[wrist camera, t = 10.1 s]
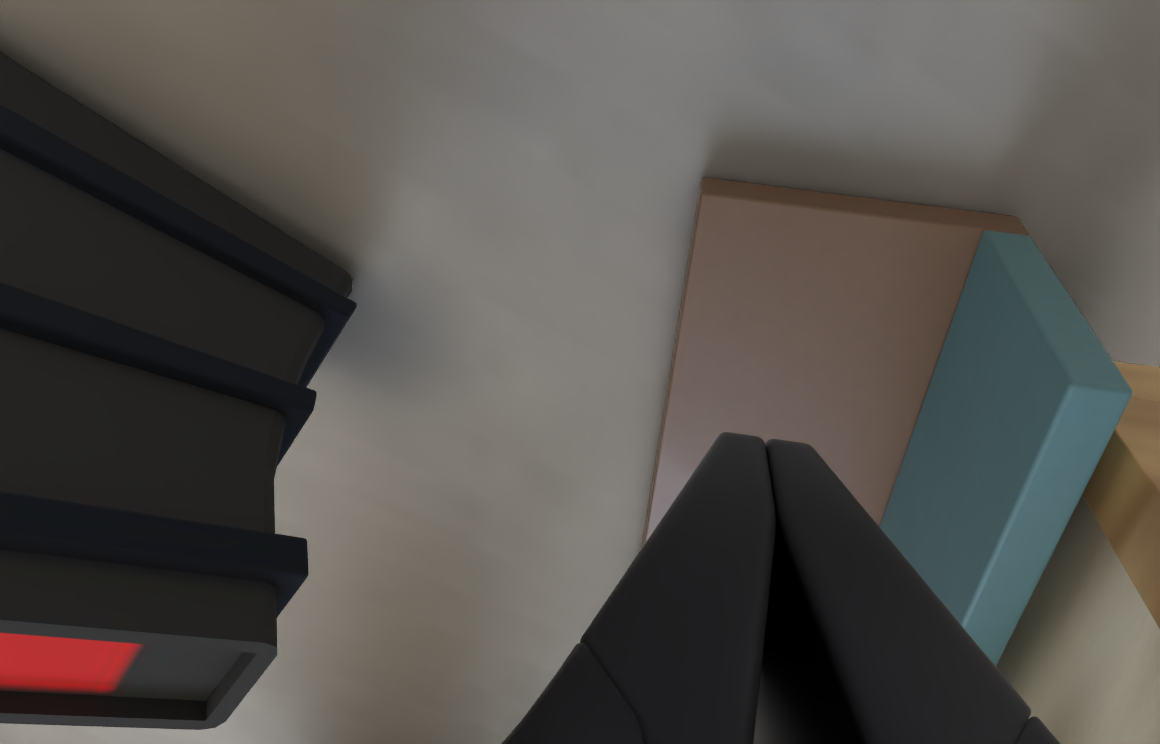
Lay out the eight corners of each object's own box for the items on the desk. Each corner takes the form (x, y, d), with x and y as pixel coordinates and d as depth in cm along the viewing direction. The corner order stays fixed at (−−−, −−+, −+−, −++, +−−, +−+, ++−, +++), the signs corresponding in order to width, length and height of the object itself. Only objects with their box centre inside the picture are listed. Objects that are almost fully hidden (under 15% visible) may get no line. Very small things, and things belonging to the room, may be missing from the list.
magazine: (-253, -77, 19) (-825, 529, 9) (350, 164, 26) (409, 645, 16) (-270, 73, 21) (-752, 711, 11) (297, 259, 28) (321, 741, 18)
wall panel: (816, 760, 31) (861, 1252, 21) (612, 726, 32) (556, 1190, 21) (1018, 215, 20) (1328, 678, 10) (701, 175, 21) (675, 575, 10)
